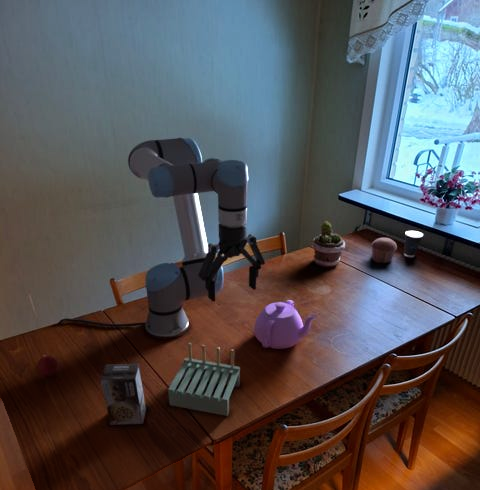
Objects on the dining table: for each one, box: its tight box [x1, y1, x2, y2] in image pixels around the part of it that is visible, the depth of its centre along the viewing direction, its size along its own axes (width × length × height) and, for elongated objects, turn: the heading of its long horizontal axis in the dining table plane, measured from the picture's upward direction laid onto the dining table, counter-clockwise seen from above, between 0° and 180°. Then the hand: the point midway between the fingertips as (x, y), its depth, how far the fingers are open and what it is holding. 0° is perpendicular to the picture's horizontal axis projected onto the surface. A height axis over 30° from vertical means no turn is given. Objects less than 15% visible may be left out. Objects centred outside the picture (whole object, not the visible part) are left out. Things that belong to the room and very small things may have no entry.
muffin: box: [370, 237, 398, 264], centre depth 208 cm, size 12×11×10 cm
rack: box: [167, 342, 241, 417], centre depth 128 cm, size 17×14×13 cm
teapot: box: [253, 299, 318, 350], centre depth 151 cm, size 22×22×14 cm
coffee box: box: [100, 363, 147, 426], centre depth 119 cm, size 9×6×16 cm
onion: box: [36, 354, 59, 377], centre depth 136 cm, size 6×6×8 cm
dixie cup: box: [403, 230, 424, 258], centre depth 212 cm, size 8×8×11 cm
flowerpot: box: [311, 219, 346, 268], centre depth 201 cm, size 14×15×20 cm
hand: (232, 293), depth 129 cm, fingers open, 13 cm apart
